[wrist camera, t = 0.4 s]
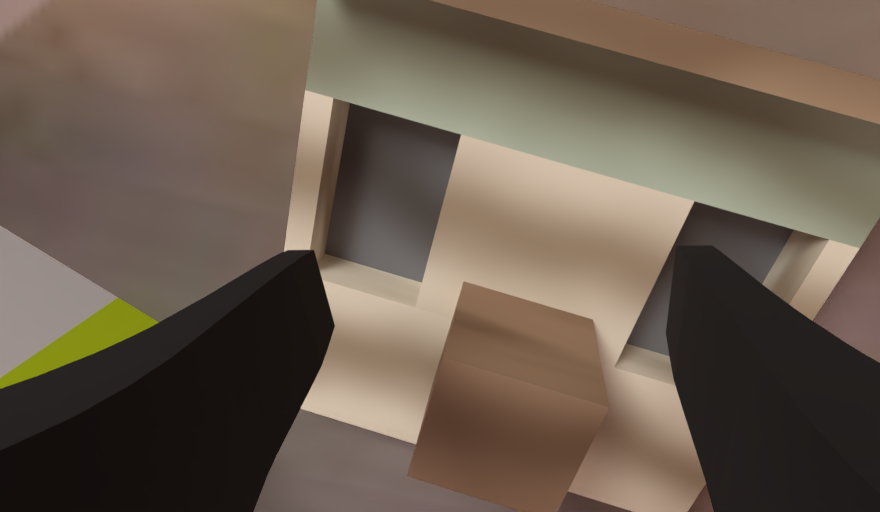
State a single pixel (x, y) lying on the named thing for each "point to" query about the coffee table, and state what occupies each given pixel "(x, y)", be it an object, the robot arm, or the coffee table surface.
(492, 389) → the block
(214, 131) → the coffee table surface
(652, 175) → the trap board
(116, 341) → the puzzle toy
